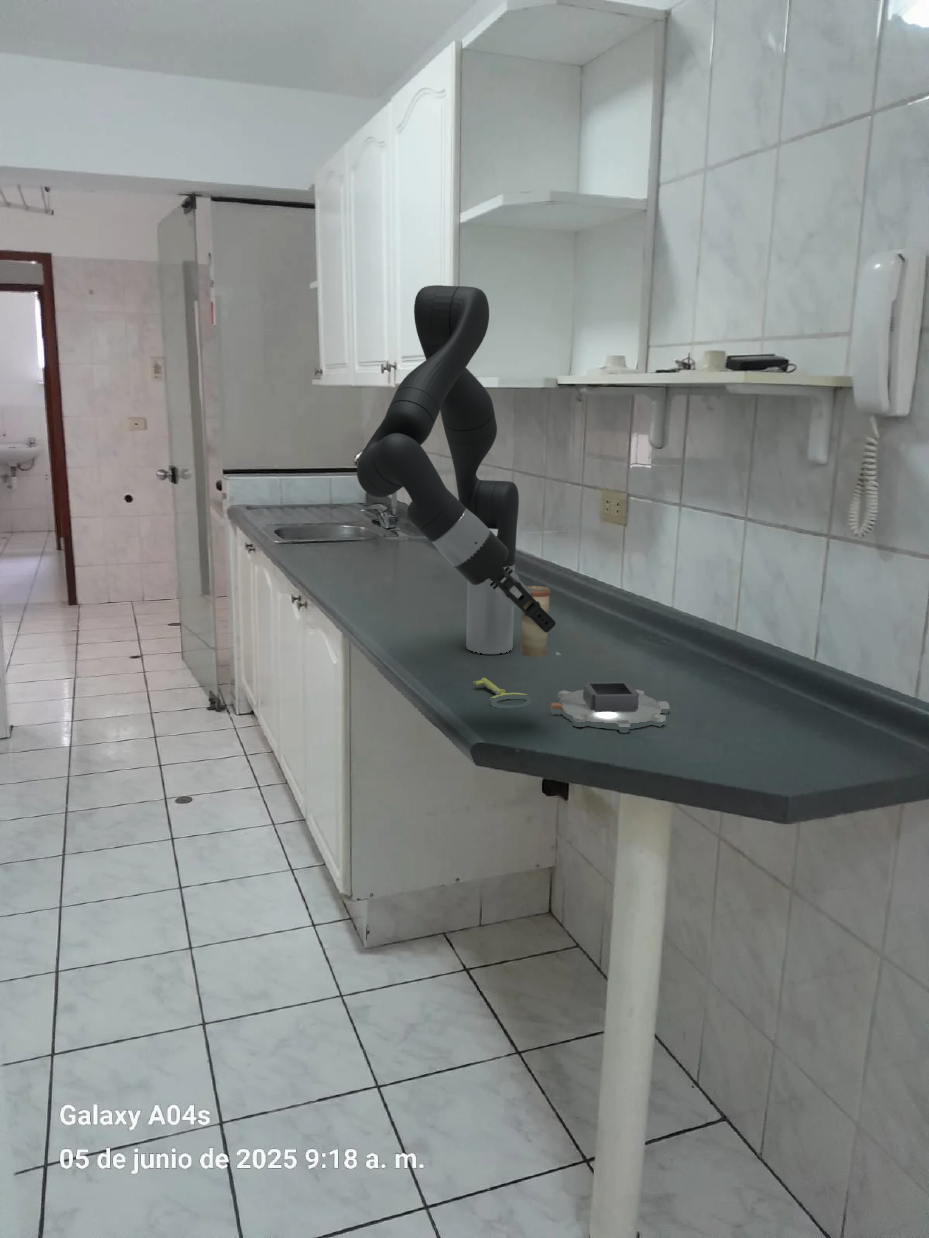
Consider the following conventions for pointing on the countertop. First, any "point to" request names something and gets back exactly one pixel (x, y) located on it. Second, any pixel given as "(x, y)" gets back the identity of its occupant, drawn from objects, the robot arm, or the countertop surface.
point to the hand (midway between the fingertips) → (546, 623)
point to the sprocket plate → (610, 704)
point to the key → (494, 688)
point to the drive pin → (534, 625)
